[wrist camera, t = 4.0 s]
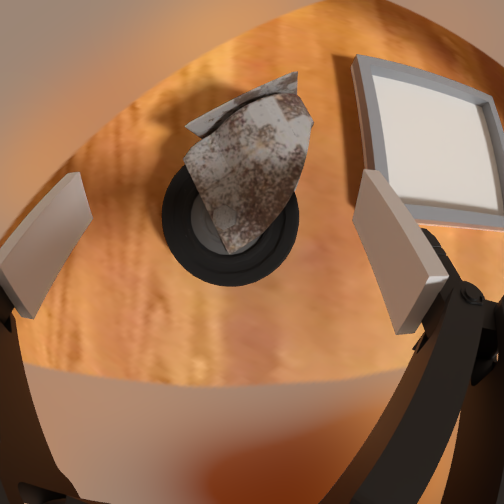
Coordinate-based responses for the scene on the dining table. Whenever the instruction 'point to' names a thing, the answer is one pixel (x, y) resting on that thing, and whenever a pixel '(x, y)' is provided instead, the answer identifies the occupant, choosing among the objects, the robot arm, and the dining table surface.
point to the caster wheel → (240, 186)
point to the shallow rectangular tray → (432, 143)
